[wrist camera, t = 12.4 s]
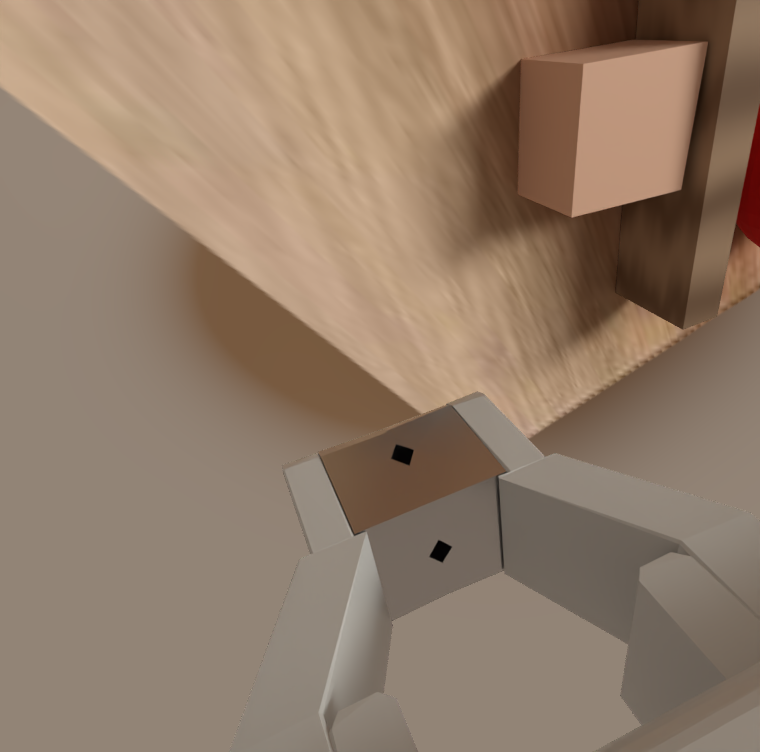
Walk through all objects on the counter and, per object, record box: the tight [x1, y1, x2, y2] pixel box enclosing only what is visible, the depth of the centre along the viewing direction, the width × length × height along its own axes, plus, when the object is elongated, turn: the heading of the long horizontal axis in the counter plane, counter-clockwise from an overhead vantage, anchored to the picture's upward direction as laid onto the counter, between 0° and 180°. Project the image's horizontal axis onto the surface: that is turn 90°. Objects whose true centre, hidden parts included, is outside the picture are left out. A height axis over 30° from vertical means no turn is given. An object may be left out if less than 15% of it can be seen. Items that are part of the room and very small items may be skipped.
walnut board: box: [616, 0, 760, 329], centre depth 35 cm, size 30×3×7 cm, turn 11°
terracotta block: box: [518, 40, 708, 218], centre depth 34 cm, size 8×8×6 cm
